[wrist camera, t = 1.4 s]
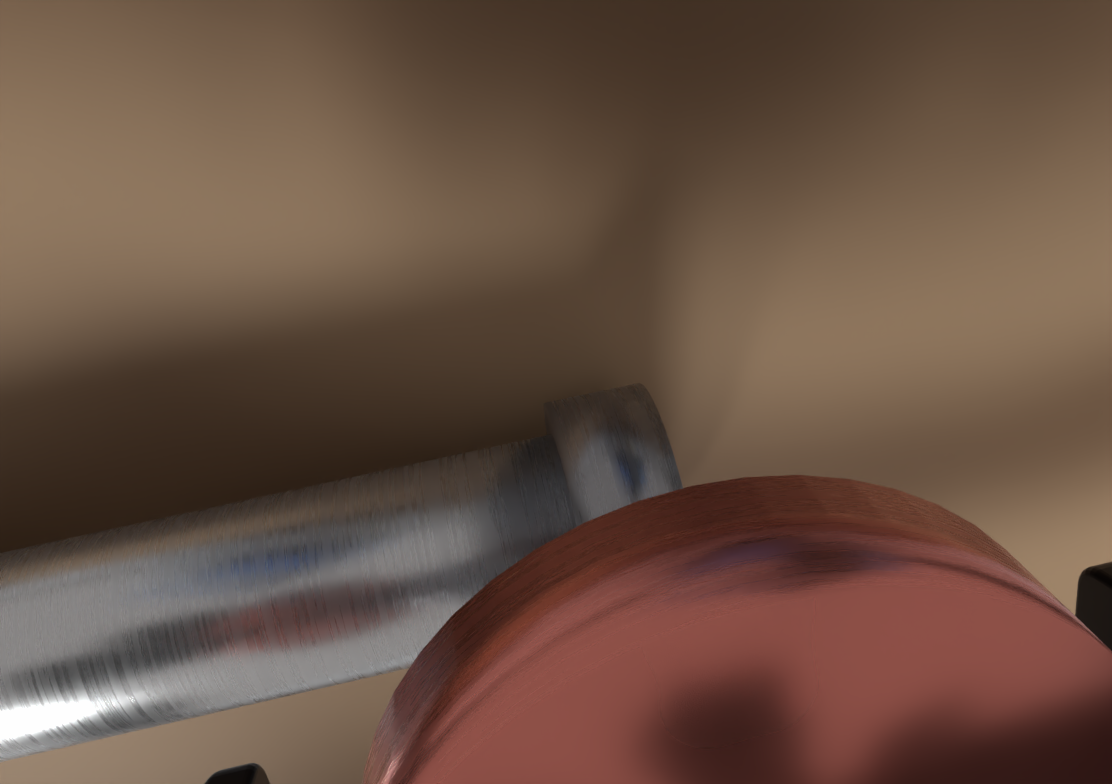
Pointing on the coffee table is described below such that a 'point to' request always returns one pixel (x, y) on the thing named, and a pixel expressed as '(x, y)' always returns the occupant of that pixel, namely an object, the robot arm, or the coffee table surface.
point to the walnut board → (544, 268)
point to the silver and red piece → (574, 623)
